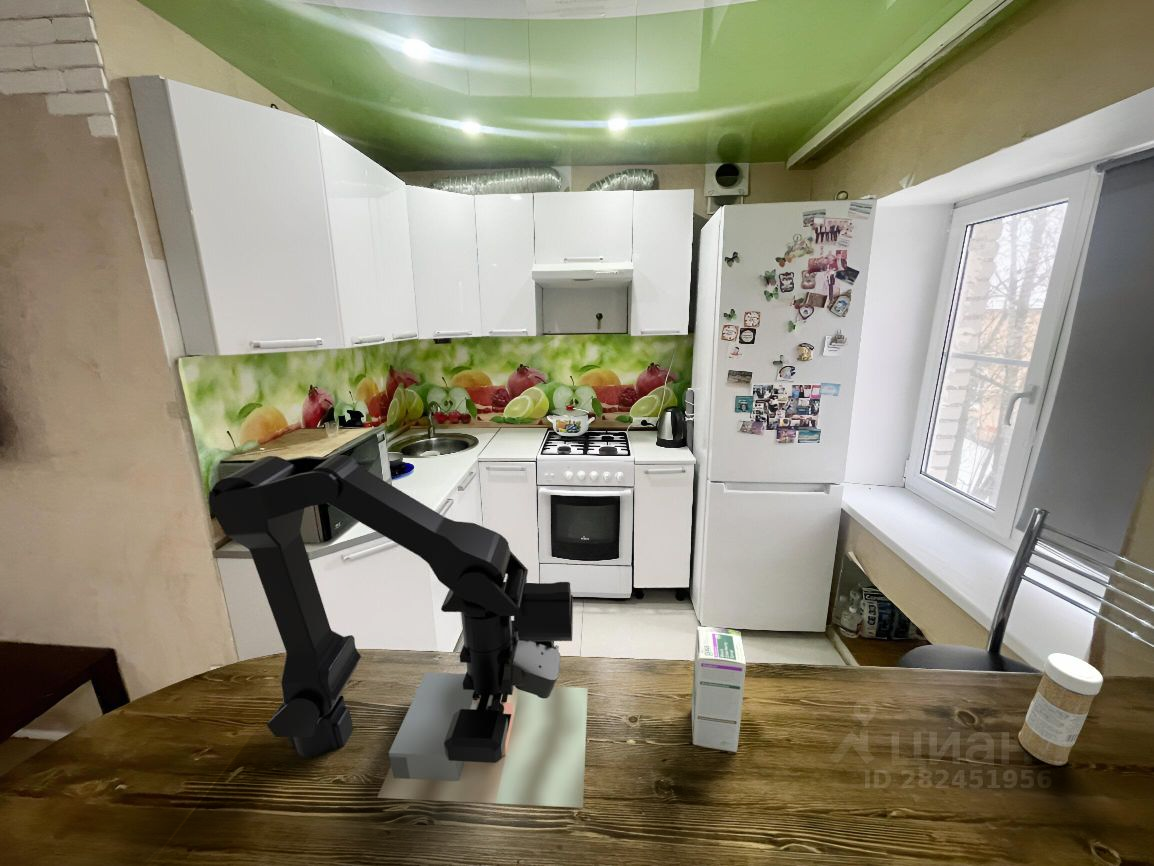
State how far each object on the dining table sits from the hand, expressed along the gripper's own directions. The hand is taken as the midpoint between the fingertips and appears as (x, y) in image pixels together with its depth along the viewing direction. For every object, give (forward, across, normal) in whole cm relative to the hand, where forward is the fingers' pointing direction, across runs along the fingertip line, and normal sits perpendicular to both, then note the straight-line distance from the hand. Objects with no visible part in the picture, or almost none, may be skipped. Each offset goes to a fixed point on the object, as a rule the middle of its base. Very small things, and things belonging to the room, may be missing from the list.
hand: (496, 730), depth 59 cm
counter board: (+2, 0, 0) cm, 2 cm away
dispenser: (+1, 0, +7) cm, 7 cm away
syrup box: (+2, +3, -29) cm, 29 cm away
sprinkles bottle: (+2, +2, -70) cm, 70 cm away
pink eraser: (+1, 0, +3) cm, 3 cm away
